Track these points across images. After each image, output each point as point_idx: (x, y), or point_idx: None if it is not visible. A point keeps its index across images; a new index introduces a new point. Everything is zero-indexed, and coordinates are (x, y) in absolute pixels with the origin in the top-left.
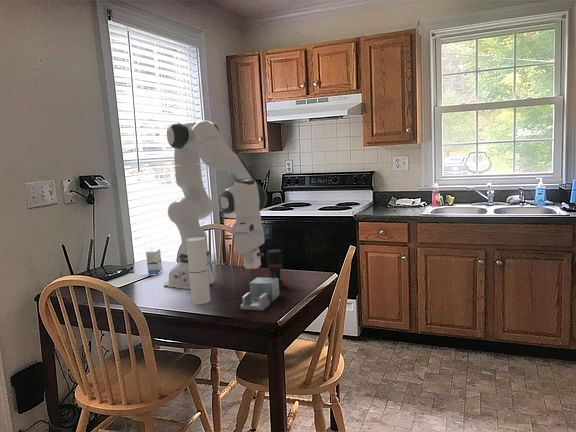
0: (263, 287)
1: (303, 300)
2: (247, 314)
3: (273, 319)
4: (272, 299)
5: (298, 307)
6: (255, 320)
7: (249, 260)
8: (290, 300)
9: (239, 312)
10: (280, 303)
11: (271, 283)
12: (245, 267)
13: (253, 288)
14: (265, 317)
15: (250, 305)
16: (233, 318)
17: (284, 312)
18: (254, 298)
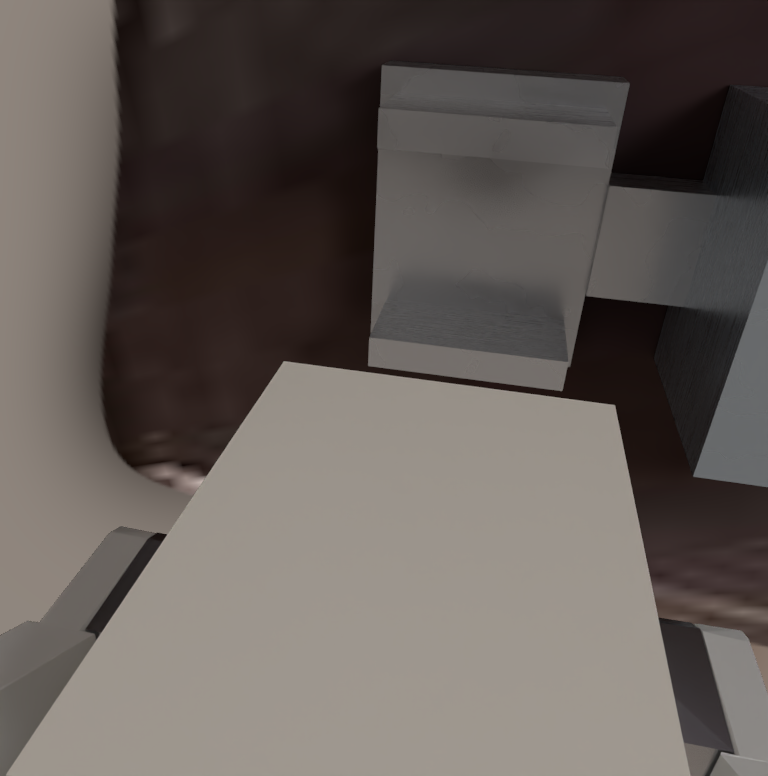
0: (715, 339)
1: None
2: (253, 195)
3: (189, 437)
4: (656, 366)
5: None
6: (134, 310)
7: None
8: (666, 504)
9: (294, 83)
10: None
11: (698, 475)
12: (273, 390)
13: (762, 175)
14: (215, 374)
15: (387, 199)
16: (121, 80)
17: None
18: (721, 147)
